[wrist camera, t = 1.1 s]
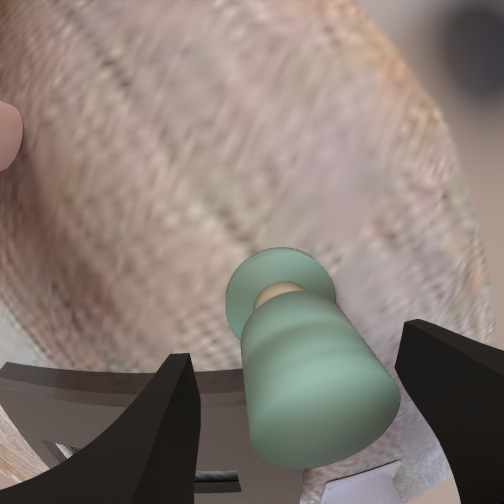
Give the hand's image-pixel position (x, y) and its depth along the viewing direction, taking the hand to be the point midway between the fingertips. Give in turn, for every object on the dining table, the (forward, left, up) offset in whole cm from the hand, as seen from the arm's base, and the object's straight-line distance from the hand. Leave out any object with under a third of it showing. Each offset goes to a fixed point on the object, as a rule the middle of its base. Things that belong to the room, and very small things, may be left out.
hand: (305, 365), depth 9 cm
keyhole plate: (-12, +9, -5) cm, 16 cm away
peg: (0, 0, -5) cm, 5 cm away
